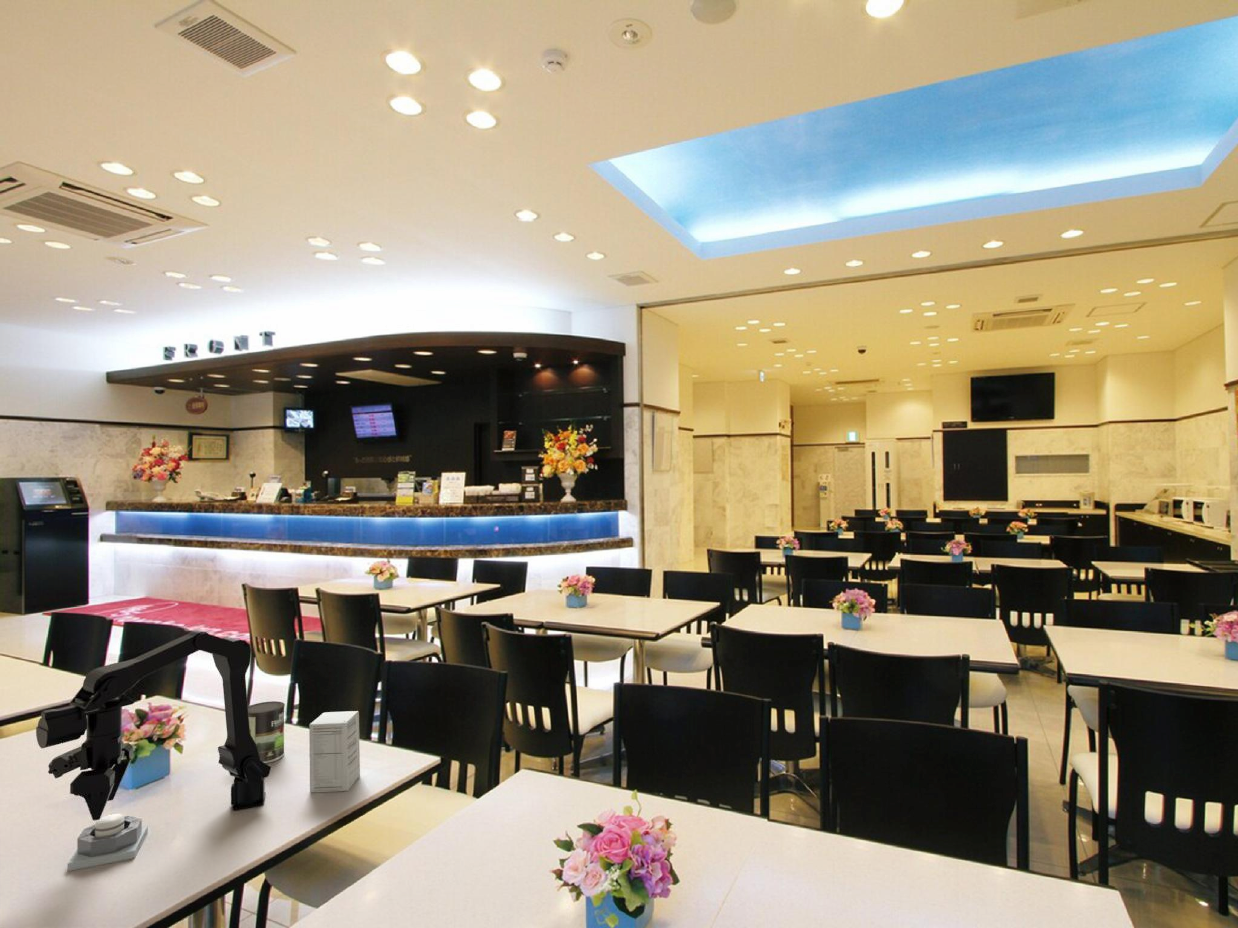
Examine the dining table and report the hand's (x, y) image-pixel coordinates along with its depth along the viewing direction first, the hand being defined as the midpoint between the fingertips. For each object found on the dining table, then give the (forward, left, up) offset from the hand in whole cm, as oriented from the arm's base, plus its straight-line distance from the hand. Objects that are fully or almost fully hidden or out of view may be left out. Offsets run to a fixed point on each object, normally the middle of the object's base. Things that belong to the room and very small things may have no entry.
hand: (103, 809), depth 137 cm
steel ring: (0, -5, -9) cm, 10 cm away
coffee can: (-26, -45, -10) cm, 53 cm away
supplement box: (-44, -18, -10) cm, 48 cm away
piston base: (0, -4, -10) cm, 11 cm away
